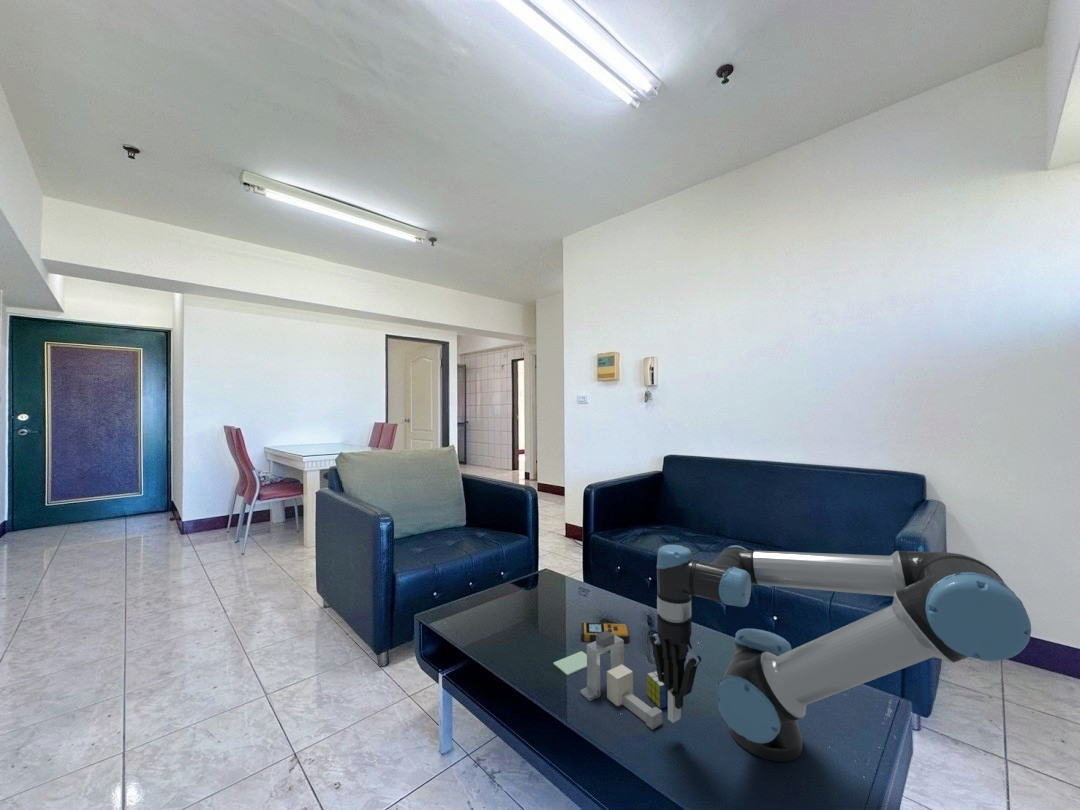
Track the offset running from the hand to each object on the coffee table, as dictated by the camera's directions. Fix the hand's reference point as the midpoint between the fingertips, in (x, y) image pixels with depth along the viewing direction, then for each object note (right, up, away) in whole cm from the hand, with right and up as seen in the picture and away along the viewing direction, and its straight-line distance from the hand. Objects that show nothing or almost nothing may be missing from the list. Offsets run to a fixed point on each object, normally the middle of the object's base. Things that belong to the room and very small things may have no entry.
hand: (674, 718), depth 99 cm
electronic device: (-9, -6, +46) cm, 47 cm away
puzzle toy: (+1, -5, +14) cm, 15 cm away
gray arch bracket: (-13, -5, +19) cm, 24 cm away
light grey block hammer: (-7, -5, +10) cm, 13 cm away
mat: (-20, -6, +30) cm, 37 cm away
